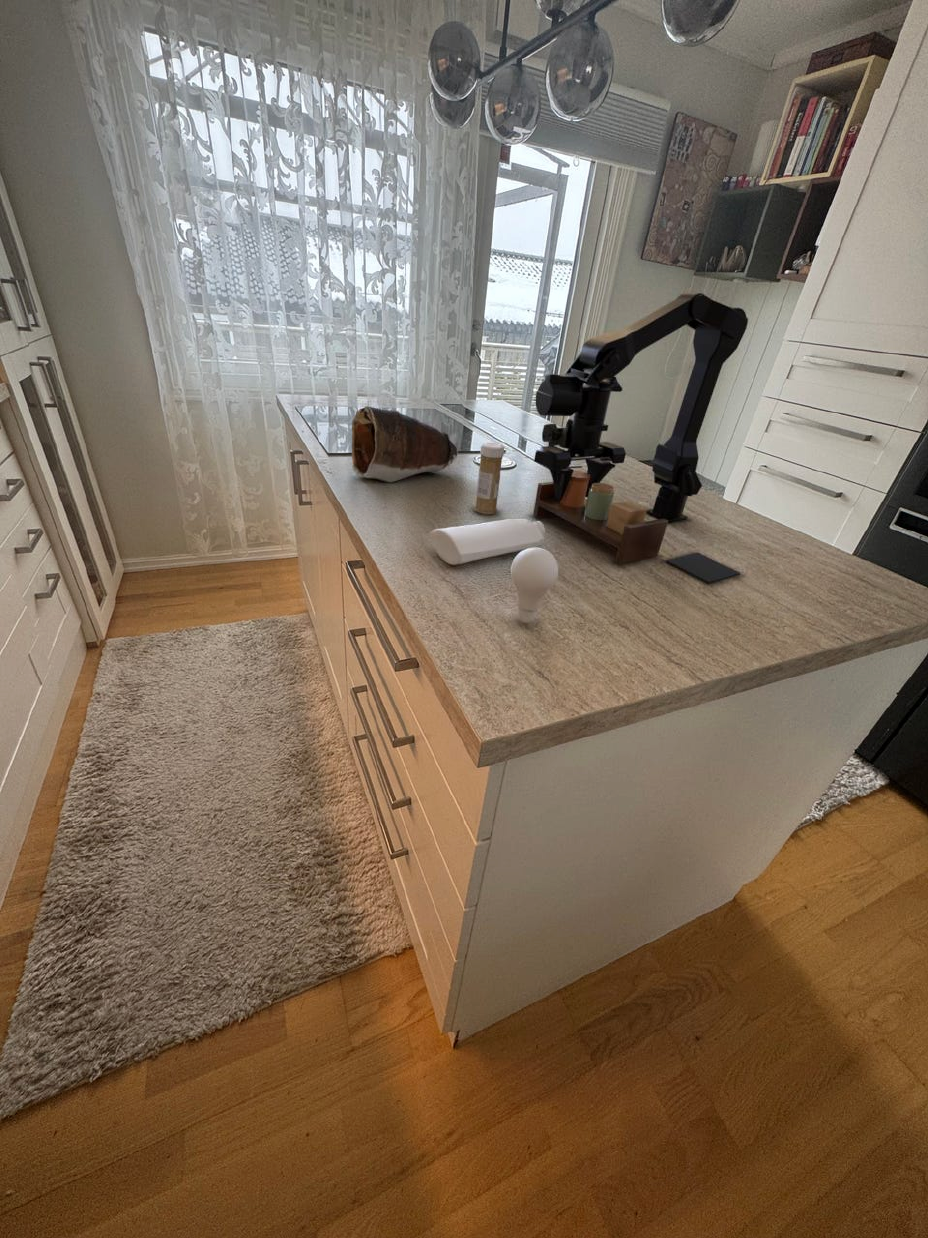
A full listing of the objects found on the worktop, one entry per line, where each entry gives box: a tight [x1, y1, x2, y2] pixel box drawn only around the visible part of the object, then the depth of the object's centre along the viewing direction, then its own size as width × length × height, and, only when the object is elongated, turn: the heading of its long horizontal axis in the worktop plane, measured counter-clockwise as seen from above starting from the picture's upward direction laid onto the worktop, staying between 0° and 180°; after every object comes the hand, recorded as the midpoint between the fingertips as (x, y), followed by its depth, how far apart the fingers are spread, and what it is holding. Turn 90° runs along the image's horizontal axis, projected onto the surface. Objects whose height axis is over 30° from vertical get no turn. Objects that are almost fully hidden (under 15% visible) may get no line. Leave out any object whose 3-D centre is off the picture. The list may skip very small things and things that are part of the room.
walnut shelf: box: [532, 481, 669, 566], centre depth 99 cm, size 10×24×7 cm, turn 32°
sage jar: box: [584, 482, 615, 520], centre depth 97 cm, size 5×5×6 cm
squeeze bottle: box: [430, 518, 546, 566], centre depth 89 cm, size 10×20×5 cm, turn 122°
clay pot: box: [351, 406, 459, 484], centre depth 121 cm, size 15×15×25 cm
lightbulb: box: [510, 546, 559, 624], centre depth 68 cm, size 6×6×11 cm
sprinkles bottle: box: [474, 442, 505, 515], centre depth 103 cm, size 5×5×13 cm
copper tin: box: [559, 469, 590, 508], centre depth 102 cm, size 5×5×6 cm
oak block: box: [606, 500, 648, 534], centre depth 93 cm, size 4×4×4 cm
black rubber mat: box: [665, 552, 741, 585], centre depth 92 cm, size 9×9×1 cm
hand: (572, 498), depth 103 cm, fingers open, 7 cm apart
